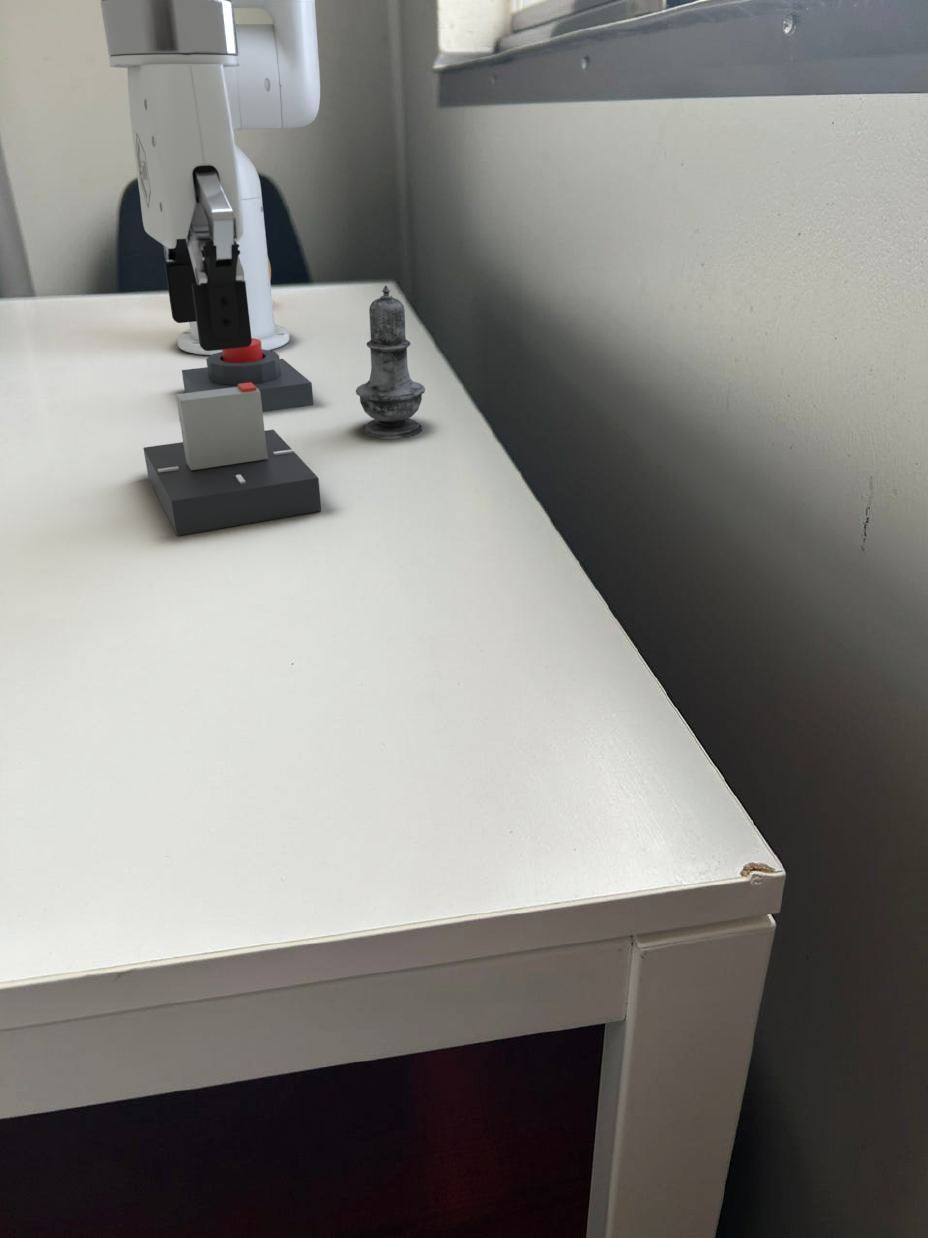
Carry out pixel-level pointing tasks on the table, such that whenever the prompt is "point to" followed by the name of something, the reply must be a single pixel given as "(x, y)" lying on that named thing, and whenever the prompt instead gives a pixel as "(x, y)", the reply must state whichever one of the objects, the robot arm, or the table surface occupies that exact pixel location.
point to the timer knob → (222, 426)
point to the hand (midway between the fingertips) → (210, 333)
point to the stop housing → (254, 380)
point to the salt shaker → (389, 374)
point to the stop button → (244, 353)
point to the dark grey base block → (231, 488)
